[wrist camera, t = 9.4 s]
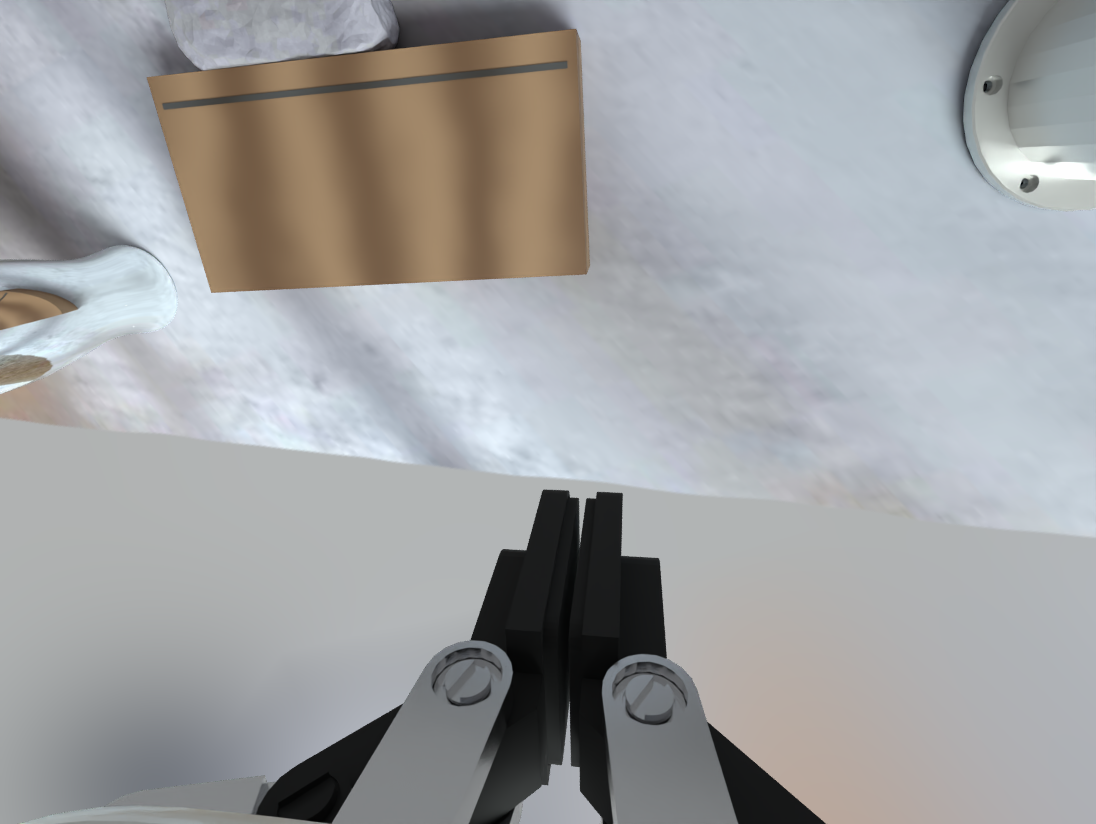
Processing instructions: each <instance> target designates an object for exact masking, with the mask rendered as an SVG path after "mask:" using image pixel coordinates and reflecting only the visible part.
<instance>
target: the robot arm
mask: <svg viewBox="0 0 1096 824" xmlns="http://www.w3.org/2000/svg"><path fill="white" fill-rule="evenodd" d="M985 82H986V83H987V89H986V91H985V92H984V91H983V85H984V83H985ZM963 123H964V130H965V136H966V143H967V146H968V149H969V151H970V154H971V156H972V159H973V161H974V164H975V165H976V167H977V168H978V170H979V171H980V172H981V174H982V175H983V177H984V178H985V179H986V181H987V182H988V183H989V184H991V185H992V186H993V187H994V188H995V189H997V190H998V191H999V192H1000V193H1001V194H1003V195H1004V196H1006V197H1008V198H1010V199H1012V200H1014V201H1017V202H1019V203H1021V204H1023V205H1027V206H1032V207H1036V208H1040V209H1045V210H1058V211H1083V210H1094V209H1096V0H1009V1H1008V3H1007V4H1006V5H1005V6H1004V8H1003V9H1002V10H1001V11H1000V13H999V14H998V15H997V17H996V19H995V20H994V22H993V24H992V25H991V27H990V29H989V30H988V32H987V34H986V35H985V37H984V39H983V40H982V43H981V45H980V47H979V50H978V52H977V55H976V57H975V60H974V62H973V64H972V67H971V70H970V74H969V78H968V82H967V87H966V91H965V95H964V114H963ZM1022 180H1023V185H1022V186H1021V187H1020V184H1021V182H1022ZM622 498H623V494H622V493H610V492H597V496H596V499H590V498H587V499H586V505H585V513H584V520H583V528H582V535H581V543H580V539H579V498H570V495H569V491H564V490H543V491H542V495H541V499H540V502H539V506H538V509H537V513H536V517H535V521H534V524H533V528H532V532H531V535H530V539H529V543H528V546H527V550H525V551H524V550H509V549H503V550H502V551H501V553H500V555H499V558H498V560H497V563H496V566H495V569H494V572H493V575H492V578H491V581H490V584H489V587H488V590H487V593H486V596H485V599H484V602H483V605H482V608H481V611H480V614H479V617H478V620H477V622H476V625H475V628H474V632H473V634H472V638H471V640H470V641H464V642H459V643H456V644H454V645H451V646H448V647H446V648H444V649H443V650H442V651H440V652H439V653H437V654H436V655H435V656H434V657H433V658H432V659H431V661H430V662H429V663H428V664H427V665H426V667H425V668H424V670H423V672H422V673H421V675H420V677H419V679H418V680H417V682H416V683H415V685H414V687H413V688H412V690H411V692H410V693H409V695H408V697H407V699H406V700H405V702H404V703H403V704H402V705H400V706H398V707H396V708H395V709H393V710H392V711H390V712H388V713H386V714H384V715H383V716H381V717H379V718H378V719H376V720H374V721H372V722H371V723H369V724H367V725H365V726H364V727H362V728H360V729H359V730H357V731H355V732H354V733H352V734H350V735H348V736H347V737H345V738H343V739H342V740H340V741H338V742H336V743H335V744H333V745H331V746H330V747H328V748H326V749H324V750H323V751H321V752H319V753H318V754H316V755H314V756H312V757H311V758H309V759H307V760H305V761H304V762H302V763H300V764H298V765H297V766H296V767H294V768H292V769H291V770H290V771H288V772H287V773H286V774H284V775H283V776H281V777H280V778H279V779H278V780H277V782H270V783H267V781H266V778H265V776H255V777H247V778H239V779H231V780H223V781H215V782H207V783H199V784H190V785H182V786H174V787H167V788H158V789H150V790H142V791H138V792H135V793H131V794H128V795H124V796H122V797H120V798H118V799H117V800H115V801H113V802H111V803H109V804H107V805H106V806H104V807H100V808H92V809H86V810H78V811H71V812H65V813H59V814H53V815H49V816H46V817H42V818H38V819H34V820H31V821H27V822H23V823H19V824H519V822H520V818H521V813H522V807H523V803H522V801H523V800H525V799H526V798H527V797H528V796H530V795H531V794H532V793H534V792H535V791H536V790H537V789H539V788H540V787H541V785H548V781H549V774H550V767H551V764H556V765H562V761H563V753H564V745H565V735H566V727H567V718H568V710H569V701H570V733H571V734H570V735H571V766H575V767H580V791H581V793H582V794H583V795H584V796H585V797H586V799H587V800H588V801H589V802H590V804H591V805H592V806H593V807H594V809H595V810H596V811H597V812H598V813H599V814H600V816H601V824H825V823H824V822H823V821H822V820H821V819H820V818H819V817H818V816H816V815H815V814H814V813H813V812H812V811H811V810H809V809H808V808H807V807H806V806H805V805H804V804H802V803H801V802H800V801H799V800H798V799H796V798H795V797H794V796H793V795H792V794H791V793H790V792H788V791H787V790H786V789H785V788H784V787H783V786H781V785H780V784H779V783H778V782H777V781H776V780H774V779H773V778H772V777H771V776H770V775H769V774H768V773H766V772H765V771H764V770H763V769H762V768H761V767H759V766H758V765H757V764H756V763H755V762H754V761H752V760H751V759H750V758H749V757H748V756H747V755H745V754H744V753H743V752H742V751H741V750H740V749H738V748H737V747H736V746H735V745H734V744H733V743H731V742H730V741H729V740H728V739H727V738H726V737H724V736H723V735H722V734H721V733H720V732H719V731H717V730H716V729H715V728H714V727H713V726H712V725H711V724H709V723H708V722H707V720H706V717H705V714H704V710H703V708H702V704H701V700H700V697H699V694H698V691H697V688H696V686H695V684H694V682H693V680H692V678H691V677H690V676H689V675H688V674H687V673H686V672H685V671H684V669H683V668H682V667H680V666H678V665H677V664H675V663H673V662H672V661H671V660H669V659H667V657H666V656H667V655H666V641H665V627H664V614H663V600H662V585H661V571H660V561H659V558H646V557H629V556H621V541H622V540H621V539H622V538H621V537H622V500H623V499H622ZM579 543H580V544H579Z"/></svg>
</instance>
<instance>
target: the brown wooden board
mask: <svg viewBox="0 0 1096 824" xmlns="http://www.w3.org/2000/svg"><path fill="white" fill-rule="evenodd" d="M147 80H148V83H149V87H150V90H151V93H152V97H153V100H154V103H155V107H156V110H157V113H158V117H159V120H160V123H161V127H162V130H163V133H164V136H165V140H166V143H167V146H168V150H169V153H170V156H171V160H172V163H173V166H174V170H175V173H176V176H177V180H178V183H179V186H180V190H181V193H182V196H183V200H184V203H185V206H186V210H187V213H188V216H189V220H190V223H191V226H192V230H193V233H194V236H195V240H196V243H197V246H198V250H199V253H200V256H201V260H202V263H203V266H204V270H205V273H206V276H207V280H208V283H209V286H210V290H211V293H216V292H236V291H257V290H277V289H297V288H318V287H338V286H358V285H379V284H399V283H419V282H440V281H460V280H480V279H501V278H521V277H541V276H562V275H582V274H587V272H588V269H589V267H590V259H589V235H588V210H587V186H586V162H585V137H584V113H583V88H582V64H581V41H580V38H579V36H578V33H577V30H576V29H570V30H561V31H552V32H543V33H534V34H526V35H517V36H508V37H499V38H490V39H481V40H472V41H464V42H455V43H446V44H437V45H428V46H419V47H410V48H402V49H393V50H384V51H375V52H366V53H357V54H349V55H340V56H331V57H322V58H313V59H304V60H295V61H287V62H278V63H269V64H260V65H251V66H242V67H234V68H225V69H216V70H207V71H198V72H189V73H180V74H172V75H163V76H154V77H147Z"/></svg>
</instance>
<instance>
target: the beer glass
mask: <svg viewBox="0 0 1096 824" xmlns="http://www.w3.org/2000/svg"><path fill="white" fill-rule="evenodd" d="M177 303H178V302H177V293H176V289H175V286H174V283H173V281H172V279H171V277H170V275H169V274H168V272H167V271H166V269H165V268H164V267H163V265H162V264H161V263H160V262H159V261H158V260H157V259H156V258H154V257H153V256H152V255H150V254H149V253H147V252H146V251H144V250H142V249H139V248H137V247H133V246H128V245H117V246H112V247H109V248H106V249H103V250H101V251H99V252H96V253H94V254H92V255H89V256H86V257H83V258H78V259H70V260H35V259H0V394H3V393H6V392H9V391H12V390H15V389H18V388H21V387H23V386H26V385H28V384H30V383H33V382H35V381H38V380H40V379H43V378H45V377H47V376H49V375H51V374H53V373H55V372H57V371H59V370H61V369H62V368H64V367H66V366H68V365H70V364H71V363H73V362H75V361H76V360H78V359H80V358H81V357H83V356H85V355H86V354H88V353H90V352H91V351H93V350H95V349H96V348H98V347H100V346H101V345H103V344H105V343H107V342H109V341H111V340H113V339H116V338H118V337H122V336H125V335H131V334H140V333H148V332H154V331H158V330H160V329H163V328H164V327H166V326H167V325H168V324H169V323H170V322H171V321H172V320H173V318H174V316H175V314H176V311H177Z"/></svg>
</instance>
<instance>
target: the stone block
mask: <svg viewBox="0 0 1096 824" xmlns="http://www.w3.org/2000/svg"><path fill="white" fill-rule="evenodd" d="M165 4H166V9H167V15H168V18H169V22H170V27H171V30H172V32H173V35H174V37H175V39H176V42H177V45H178V47H179V48H180V49H181V51H182V52H183V53H184V54H185V56H186V57H187V58H189V59H190V60H191V61H192V63H193V64H194V65H195V66H196V67H197V68H198V69H200V70H201V71H207V70H216V69H225V68H234V67H242V66H251V65H260V64H269V63H278V62H287V61H295V60H304V59H313V58H322V57H331V56H340V55H349V54H357V53H366V52H375V51H384V50H393V49H394V47H395V46H396V45H397V43H398V36H399V25H398V21H397V18H396V14H395V12H394V10H393V5H392V3H391V1H390V0H165Z"/></svg>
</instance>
